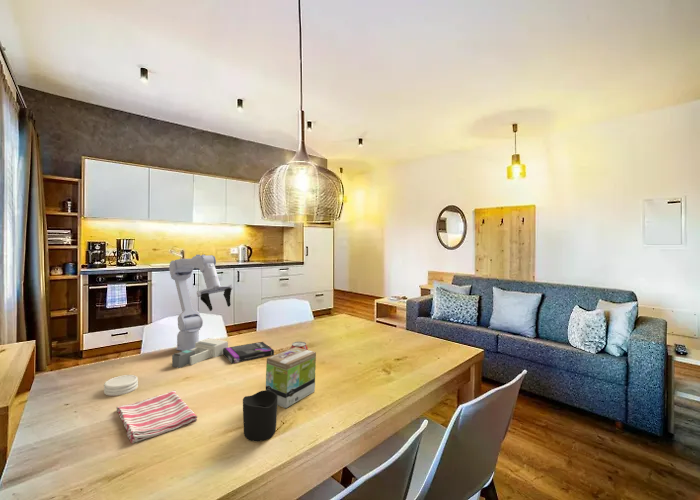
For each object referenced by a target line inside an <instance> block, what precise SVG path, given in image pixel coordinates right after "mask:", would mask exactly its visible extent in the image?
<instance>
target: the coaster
mask: <svg viewBox="0 0 700 500" xmlns="http://www.w3.org/2000/svg"><path fill="white" fill-rule="evenodd" d="M103 383H104V384H103V393H104V395H106V396H110V397H111V396H112V397H114V396H122V395H126V394H129V393H131V392H133V391H135V390H136V389H137V388H138V386H139V376H136V375H134V374H123V375H119V376H115V377H111V378H109V379H108V380H106V381H105V382H103Z"/></svg>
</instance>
